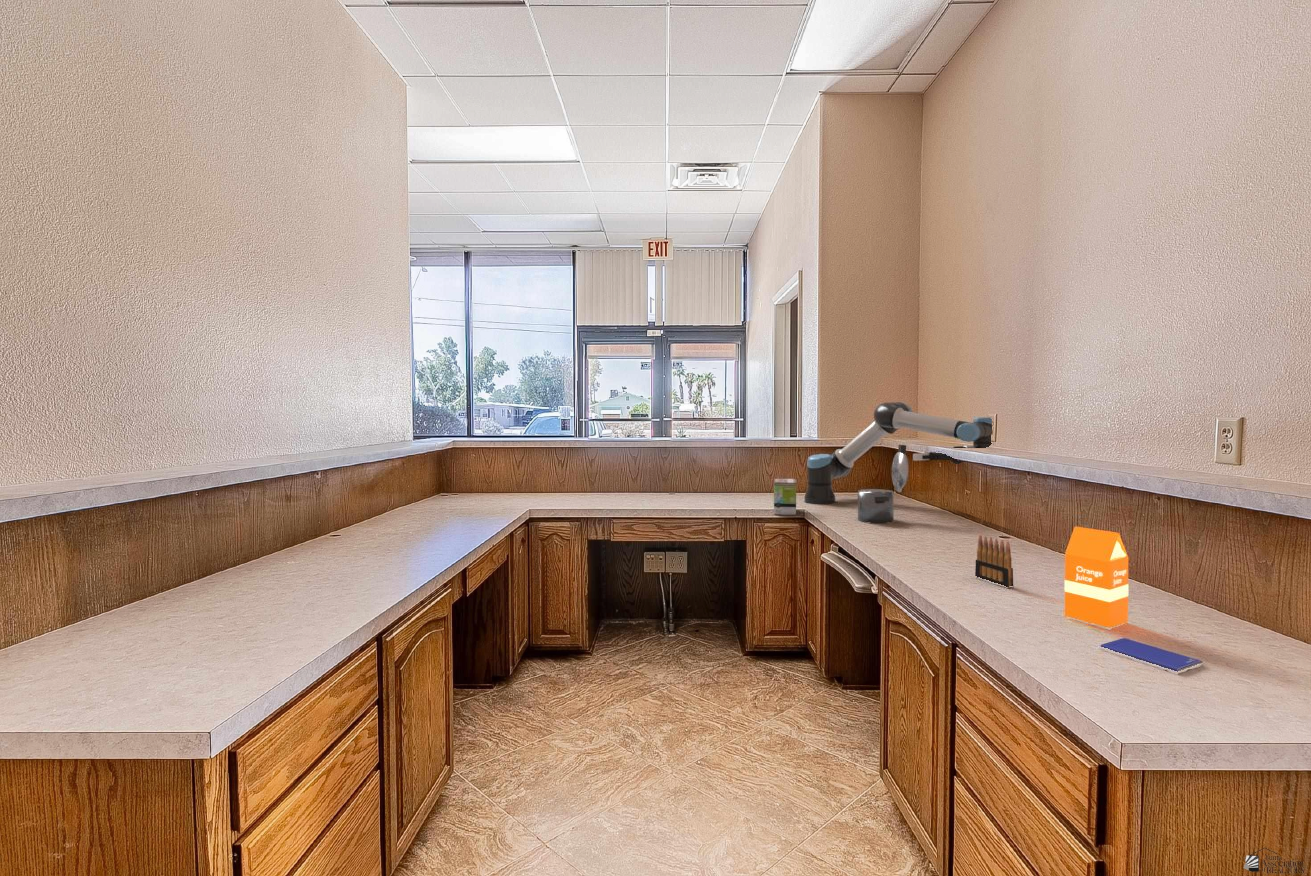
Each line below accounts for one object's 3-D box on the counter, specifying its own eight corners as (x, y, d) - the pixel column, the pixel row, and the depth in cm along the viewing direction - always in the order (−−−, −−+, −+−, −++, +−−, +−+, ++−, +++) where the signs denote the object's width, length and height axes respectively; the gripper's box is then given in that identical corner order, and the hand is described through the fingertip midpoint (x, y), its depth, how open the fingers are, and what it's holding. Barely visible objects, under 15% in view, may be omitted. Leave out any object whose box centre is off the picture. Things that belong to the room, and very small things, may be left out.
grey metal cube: (852, 516, 259) (852, 488, 258) (885, 515, 258) (885, 488, 257) (865, 524, 241) (864, 494, 240) (900, 523, 240) (900, 494, 240)
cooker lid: (893, 443, 255) (901, 444, 255) (890, 488, 256) (897, 489, 256) (906, 446, 240) (914, 446, 240) (902, 493, 241) (910, 494, 241)
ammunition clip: (974, 577, 164) (974, 534, 164) (980, 576, 165) (980, 533, 164) (1008, 588, 154) (1008, 542, 154) (1013, 587, 155) (1013, 541, 154)
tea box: (797, 515, 266) (796, 481, 265) (773, 514, 268) (773, 481, 267) (795, 509, 280) (795, 478, 280) (774, 509, 282) (773, 478, 282)
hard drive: (1202, 659, 107) (1125, 636, 119) (1177, 668, 104) (1100, 644, 115) (1202, 668, 107) (1125, 644, 119) (1177, 677, 104) (1099, 652, 115)
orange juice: (1083, 611, 136) (1083, 524, 135) (1128, 623, 128) (1129, 530, 127) (1063, 618, 132) (1064, 528, 131) (1109, 630, 124) (1110, 535, 124)
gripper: (974, 465, 246) (924, 467, 241) (952, 462, 259) (904, 464, 254) (974, 446, 246) (924, 449, 241) (952, 445, 259) (904, 447, 253)
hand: (914, 457), depth 247 cm, fingers closed
